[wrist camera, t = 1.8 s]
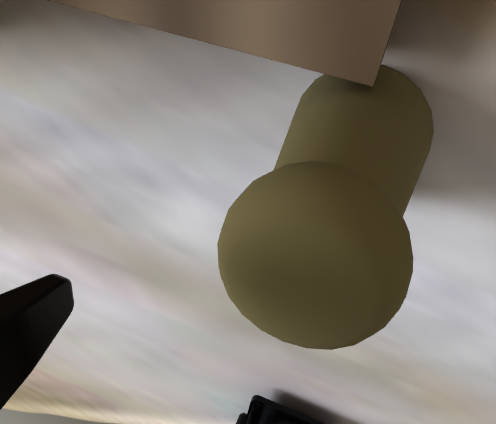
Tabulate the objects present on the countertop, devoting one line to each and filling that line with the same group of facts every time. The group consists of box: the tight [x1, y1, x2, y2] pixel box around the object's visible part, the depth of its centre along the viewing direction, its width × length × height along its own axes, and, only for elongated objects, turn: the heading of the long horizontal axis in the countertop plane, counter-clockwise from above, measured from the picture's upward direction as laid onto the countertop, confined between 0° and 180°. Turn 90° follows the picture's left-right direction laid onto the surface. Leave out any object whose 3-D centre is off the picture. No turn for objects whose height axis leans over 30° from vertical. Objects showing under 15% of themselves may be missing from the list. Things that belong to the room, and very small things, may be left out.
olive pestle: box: [218, 65, 434, 350], centre depth 15 cm, size 6×6×11 cm
